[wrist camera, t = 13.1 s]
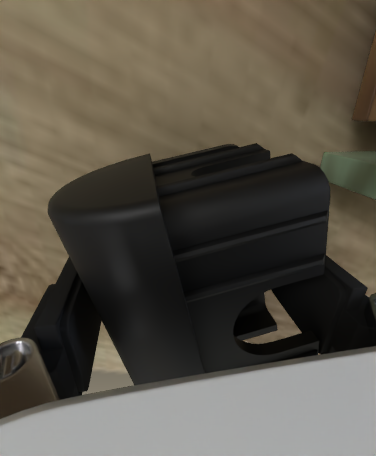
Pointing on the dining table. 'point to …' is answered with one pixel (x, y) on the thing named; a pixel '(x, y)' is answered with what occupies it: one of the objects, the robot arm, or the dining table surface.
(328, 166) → the drawer
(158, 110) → the dining table surface
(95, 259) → the end cap
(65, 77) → the dining table surface
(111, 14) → the dining table surface
